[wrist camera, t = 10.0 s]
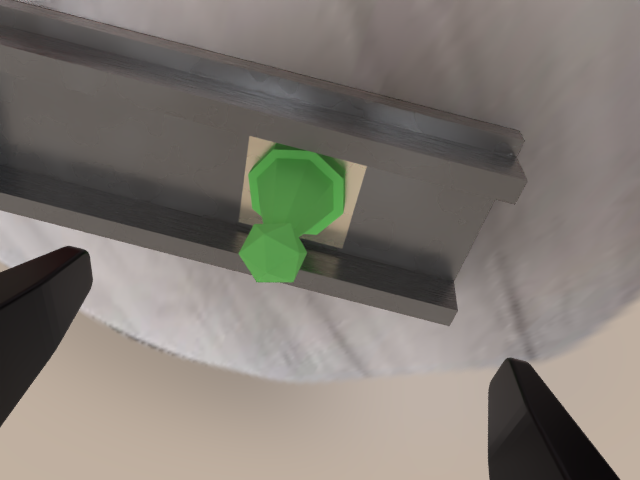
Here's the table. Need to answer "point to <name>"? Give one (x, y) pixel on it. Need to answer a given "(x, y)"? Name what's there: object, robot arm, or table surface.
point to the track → (239, 158)
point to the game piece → (290, 209)
